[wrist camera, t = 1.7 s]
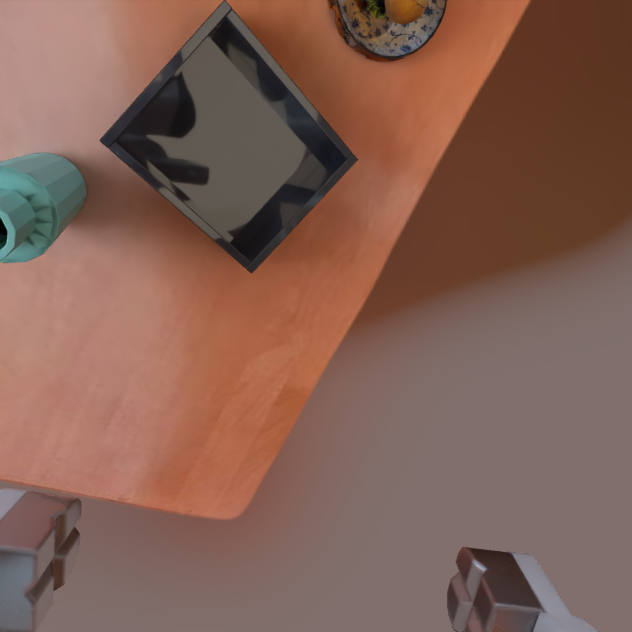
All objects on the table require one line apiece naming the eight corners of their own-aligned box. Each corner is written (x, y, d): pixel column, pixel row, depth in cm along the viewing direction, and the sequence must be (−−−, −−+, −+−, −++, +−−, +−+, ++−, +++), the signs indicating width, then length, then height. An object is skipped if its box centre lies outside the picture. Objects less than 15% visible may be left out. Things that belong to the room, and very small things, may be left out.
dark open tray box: (105, 138, 43) (99, 140, 37) (215, 15, 42) (224, -1, 37) (240, 257, 51) (251, 274, 45) (335, 155, 50) (358, 159, 44)
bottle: (-4, 188, 42) (-119, 235, 24) (41, 137, 41) (-42, 147, 24) (58, 234, 45) (-4, 306, 27) (100, 186, 44) (66, 228, 27)
